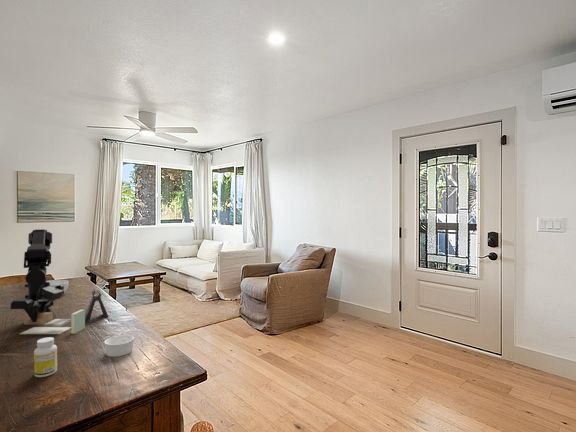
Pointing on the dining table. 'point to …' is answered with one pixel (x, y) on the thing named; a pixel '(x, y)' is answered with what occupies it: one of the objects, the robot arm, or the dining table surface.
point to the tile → (77, 321)
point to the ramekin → (119, 345)
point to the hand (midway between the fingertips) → (37, 320)
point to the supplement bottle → (45, 357)
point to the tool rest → (46, 330)
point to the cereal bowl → (59, 283)
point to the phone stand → (91, 305)
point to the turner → (45, 319)
